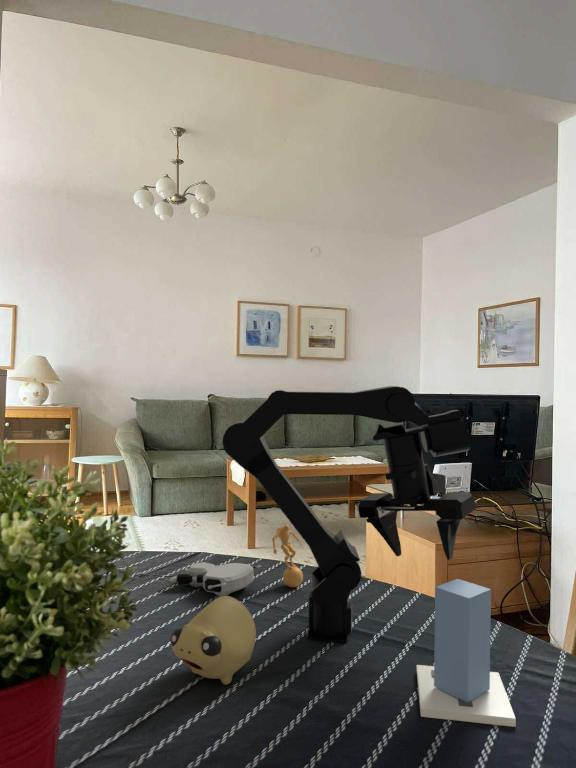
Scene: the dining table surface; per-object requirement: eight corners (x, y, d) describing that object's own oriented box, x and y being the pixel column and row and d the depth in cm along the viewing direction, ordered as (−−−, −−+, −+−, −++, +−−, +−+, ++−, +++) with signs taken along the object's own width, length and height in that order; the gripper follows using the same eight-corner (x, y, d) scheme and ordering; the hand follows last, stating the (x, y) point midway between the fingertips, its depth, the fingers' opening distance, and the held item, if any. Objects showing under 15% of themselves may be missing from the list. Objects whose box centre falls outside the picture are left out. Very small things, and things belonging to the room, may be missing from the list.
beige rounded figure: (156, 687, 77) (157, 607, 77) (212, 651, 87) (213, 580, 87) (216, 709, 72) (216, 623, 72) (267, 668, 82) (268, 593, 82)
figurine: (287, 595, 110) (288, 532, 110) (263, 587, 114) (264, 526, 114) (313, 583, 116) (314, 524, 116) (290, 576, 120) (291, 519, 120)
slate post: (433, 686, 75) (435, 586, 75) (456, 674, 79) (457, 578, 78) (467, 702, 72) (469, 598, 71) (489, 689, 75) (490, 589, 75)
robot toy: (165, 595, 112) (228, 605, 104) (164, 572, 112) (227, 580, 104) (205, 577, 122) (264, 585, 115) (204, 555, 123) (263, 562, 115)
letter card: (420, 716, 71) (420, 706, 71) (416, 671, 81) (416, 663, 81) (515, 726, 69) (515, 716, 69) (498, 679, 80) (498, 671, 80)
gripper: (480, 448, 93) (498, 543, 93) (382, 454, 105) (398, 538, 106) (450, 464, 85) (470, 568, 85) (348, 469, 97) (365, 560, 97)
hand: (423, 557), depth 93 cm, fingers open, 9 cm apart
